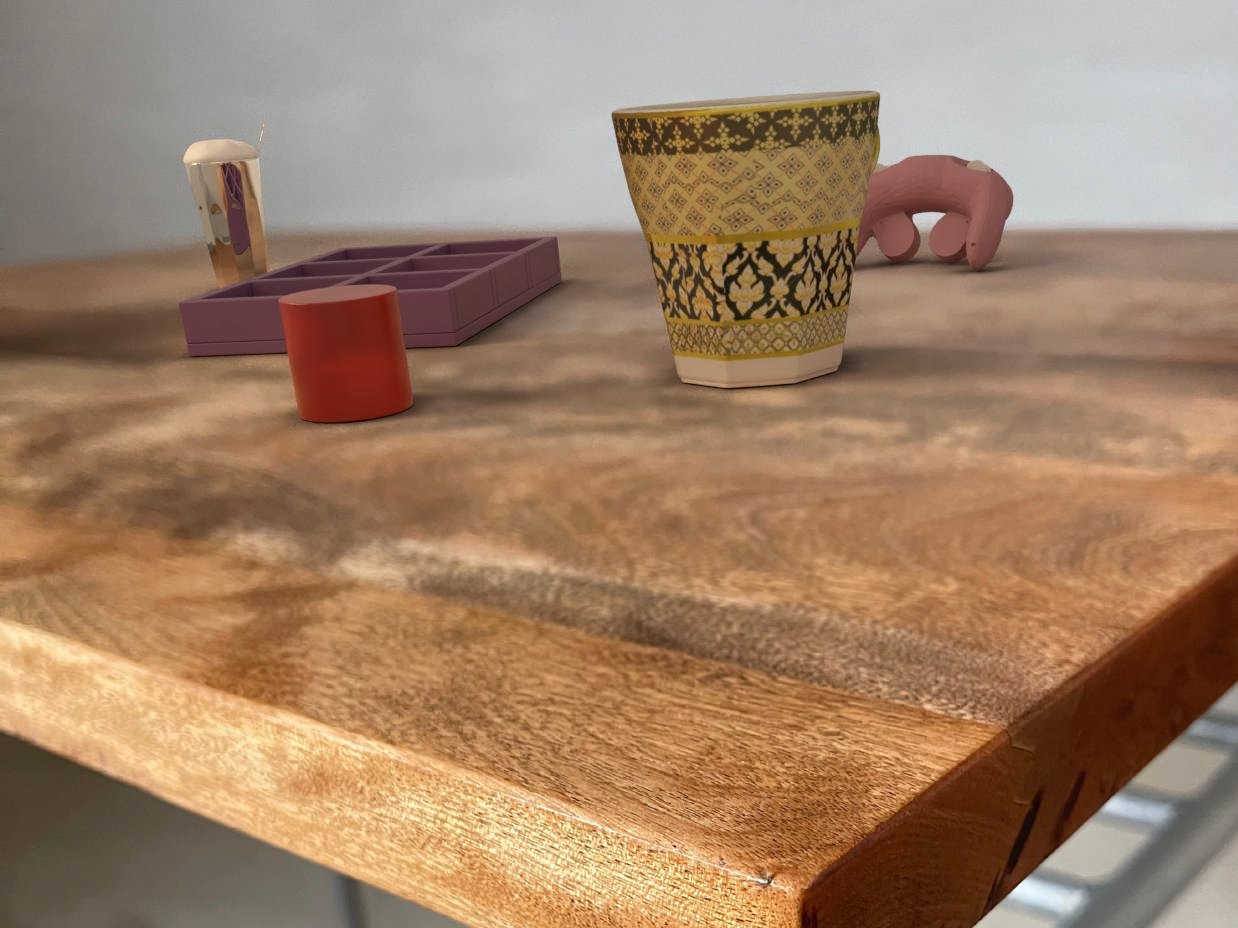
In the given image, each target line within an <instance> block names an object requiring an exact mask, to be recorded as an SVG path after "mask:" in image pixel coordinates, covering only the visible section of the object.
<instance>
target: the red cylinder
mask: <svg viewBox="0 0 1238 928" xmlns="http://www.w3.org/2000/svg"><path fill="white" fill-rule="evenodd" d="M278 302H279V307H280V313H281V319H282V324H283V330H284V335H285V341H286V346H287V352H288V353H287V356H288V362H289V367H290V374H291V379H292V385H293V390H294V395H295V402H296V406H297V412H298V416H299V418H300V419H302V420H305V421H308V422H312V423H313V422H314V423H328V424H329V423H350V422H358V421H366V420H372V419H378V418H383V417H387V416H391V415H395V414H397V413H400V412H403V411H405V410H407V409H409V408H411V407H412V406H413V404H414V397H413V390H412V382H411V375H410V370H409V368H410V367H409V363H408V355H407V348H405V341H404V334H403V327H402V321H401V314H400V307H399V300H398V294H397V289H396V287H394V286H390V285H378V284H368V285H348V286H337V287H328V288H320V289H313V290H307V291H302V292H297V293H293V294H289V295H286V296H284V297H281V298H280V299H279V300H278Z"/></svg>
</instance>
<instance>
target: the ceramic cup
mask: <svg viewBox="0 0 1238 928" xmlns="http://www.w3.org/2000/svg"><path fill="white" fill-rule="evenodd" d="M880 103H881V93H880V92H879V91H876V90H846V91H842V90H841V91H822V92H806V93H792V94H791V93H789V94H788V93H787V94H773V95H757V96H745V97H732V98H730V97H729V98H718V99H707V100H706V99H705V100H694V101H681V102H672V103H671V102H670V103H660V104H650V105H640V106H633V107H632V106H631V107H623V108H617V109H614V110H613V111H611V114H610V115H611V120H612V125H613V130H614V135H615V138H616V139H615V140H616V144H617V148H618V149H617V150H618V153H619V158H620V161H621V165H622V169H623V173H624V177H625V181H626V184H627V185H626V186H627V190H628V193H629V196H630V199H631V202H632V205H633V208H634V212H635V213H636V214H635V215H636V216H637V219H638V222H639V225H640V228H641V230H642V233H643V235H644V238H645V242H646V246H647V250H648V254H649V258H650V261H651V267H652V271H653V275H654V279H655V283H656V287H657V291H658V296H659V299H660V304H661V308H662V312H663V317H664V321H665V324H666V329H667V335H668V340H669V344H670V350H671V352H672V357H673V360H674V364H675V368H676V373H677V376H678V377H679V378H680V380H681V382H682V383H685V384H693V385H699V386H708V387H714V388H715V387H716V388H721V389H722V388H724V389H731V388H746V387H760V386H761V387H763V386H776V385H786V384H787V385H789V384H797V383H800V382H804V381H807V380H811V379H814V378H818V377H821V376H824V375H827V374H830V373H834V372H836V371H838V369H839V366H840V365H841V363H842V359H843V352H844V351H843V350H844V345H845V339H846V335H847V334H846V333H847V326H848V325H847V323H848V315H849V314H848V313H849V307H850V300H851V293H852V286H853V279H854V274H855V273H854V271H855V267H856V259H857V257H856V252H857V244H858V236H859V228H860V222H861V218H862V214H863V209H864V205H865V201H866V196H867V191H868V187H869V182H870V177H871V175H872V174H873V172H874V170H875V167H876V165H877V163H878V160H879V158H880V152H881V135H880V129H879V128H880V127H879V124H878V123H879V115H880V113H879V112H880V105H881V104H880Z"/></svg>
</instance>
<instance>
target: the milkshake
mask: <svg viewBox="0 0 1238 928" xmlns="http://www.w3.org/2000/svg"><path fill="white" fill-rule="evenodd" d="M265 124H266V119H265V118H264V119H263V121H262V125H261V129H260V135H259V138H258V143H257V146H256V148H254V147H253V146H252V145H251V144H249V143H246V142H245V141H240V140H235V139H231V138H218V139H208V140H207V139H206V140H200V141H196V142H193V143H192V144H191V145H189V147H188V148H187V150H186V151H185V153H184V155H183V157H182V159H183V160H182V161H183V164H184V167H185V171H186V174H187V178H188V181H189V185H190V188H191V192H192V194H193V198H194V201H195V205H196V208H197V211H198V216H199V219H200V222H201V227H202V230H203V234H204V238H205V242H206V246H207V250H208V252H209V258H210V261H211V264H212V268H213V272H214V275H215V279H216V284H217V286H218V289H220V288H223V287H226V286H229V285H232V284H235V283H238V282H241V281H244V280H246V279H249V278H252V277H255V276H258V275H261V274H264V273H267V272H270V263H269V260H270V259H269V252H268V243H267V234H266V226H265V217H264V216H265V215H264V207H263V194H262V182H261V169H260V168H261V167H260V159H259V158H260V157H259V151H260V146H261V142H262V138H263V133H264V128H265Z"/></svg>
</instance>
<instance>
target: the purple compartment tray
mask: <svg viewBox="0 0 1238 928" xmlns="http://www.w3.org/2000/svg"><path fill="white" fill-rule="evenodd" d="M560 260H561V259H560V249H559V241H558V236H541V237H539V236H538V237H521V238H520V237H519V238H504V239H503V238H502V239H501V238H500V239H483V240H465V241H462V240H461V241H448V242H447V241H443V242H429V243H428V242H426V243H408V244H407V243H406V244H390V245H373V246H372V245H371V246H351V247H339V248H337V249H334V250H331V251H327V252H325V253H322V254H319V255H315V256H313V257H309V258H307V259H304V260H301V261H298V262H294V263H292V264H288V265H286V266H283V267H280V268H276V269H274V270H271V271H270V272H267V273H264V274H261V275H258V276H255V277H252V278H249V279H246V280H244V281H241V282H238V283H235V284H232V285H229V286H226V287H223V288H220V289H219V288H217V289H213V290H211V291H208V292H205V293H202V294H199V295H196V296H193V297H190V298H187V299H184V300H181V301H179V302H178V307H179V313H180V316H181V322H182V327H183V332H184V336H185V340H186V347H187V352H188V356H189V357H207V356H209V357H210V356H211V357H212V356H233V355H235V356H236V355H238V356H239V355H257V354H258V355H261V354H284V353H285V354H286V353H287V354H288V352H287V346H286V341H285V335H284V330H283V324H282V319H281V313H280V307H279V302H278V300H279V299H280V298H281V297H284V296H286V295H289V294H293V293H297V292H302V291H307V290H313V289H320V288H328V287H337V286H348V285H368V284H378V285H390V286H394V287H396V289H397V294H398V300H399V307H400V314H401V321H402V327H403V334H404V341H405V348H406V349H408V348H410V349H411V348H435V347H436V348H437V347H457V346H458V345H460V344H462V343H463V342H465V341H467V340H468V339H470V338H472V337H473V336H475V335H476V334H478V333H479V332H482V331H484V329H486V328H487V327H489V326H491V325H492V324H493V325H494V323H496V322H497V321H499V320H501V319H503V318H504V317H506V316H508V315H510V314H511V313H512V312H514V311H515V310H517V309H519V308H520V307H522V306H524V305H526V304H527V303H529V302H531V301H532V300H534V299H535V298H537V297H538V296H540V295H541V294H543V293H545V292H547V291H549V289H552V288H553V287H555V286H557V285H559V284H560V283H562V282H563V278H562V271H561V261H560Z"/></svg>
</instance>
